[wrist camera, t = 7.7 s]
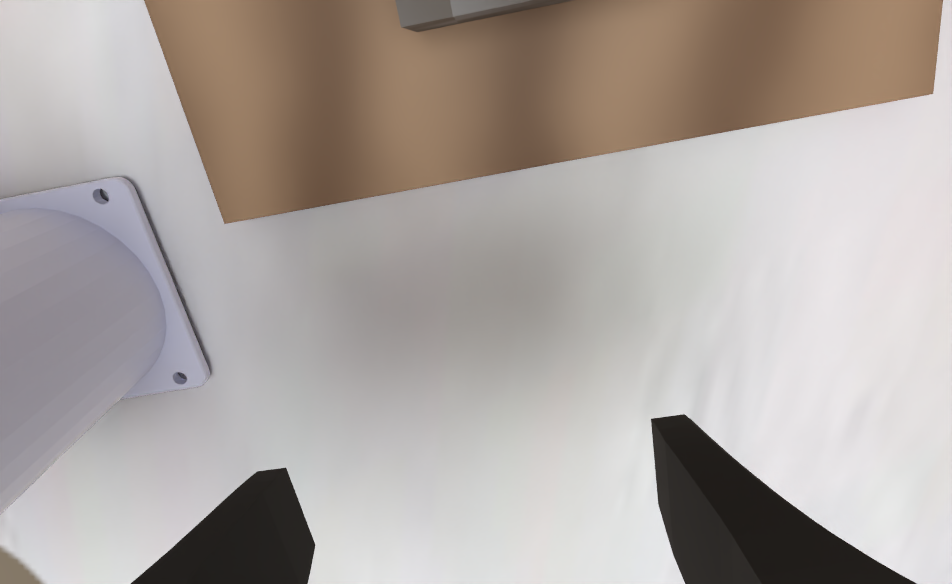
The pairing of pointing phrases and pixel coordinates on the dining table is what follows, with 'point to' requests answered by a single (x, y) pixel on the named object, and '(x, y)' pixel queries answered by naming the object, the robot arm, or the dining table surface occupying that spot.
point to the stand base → (507, 82)
